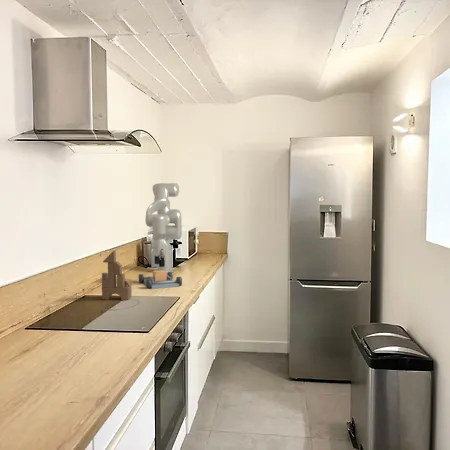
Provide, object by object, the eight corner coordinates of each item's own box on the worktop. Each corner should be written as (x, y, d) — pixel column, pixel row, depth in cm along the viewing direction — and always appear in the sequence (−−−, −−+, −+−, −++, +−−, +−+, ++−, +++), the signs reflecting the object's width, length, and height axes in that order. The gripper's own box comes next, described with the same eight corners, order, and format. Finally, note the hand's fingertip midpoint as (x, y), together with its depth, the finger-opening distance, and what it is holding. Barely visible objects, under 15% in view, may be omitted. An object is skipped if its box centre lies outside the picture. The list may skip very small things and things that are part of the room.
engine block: (152, 281, 279) (152, 271, 279) (164, 280, 282) (164, 270, 282) (155, 282, 275) (155, 272, 274) (166, 281, 278) (166, 271, 277)
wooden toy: (132, 297, 244) (131, 249, 242) (128, 300, 237) (127, 251, 235) (103, 296, 246) (102, 249, 244) (98, 299, 239) (97, 250, 237)
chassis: (138, 281, 285) (138, 273, 285) (170, 279, 293) (170, 271, 293) (148, 289, 263) (148, 280, 263) (182, 286, 271) (182, 277, 271)
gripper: (149, 235, 283) (149, 263, 285) (156, 238, 267) (157, 268, 269) (161, 234, 286) (161, 262, 288) (169, 237, 270) (170, 267, 272)
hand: (159, 265), depth 278 cm, fingers open, 9 cm apart
